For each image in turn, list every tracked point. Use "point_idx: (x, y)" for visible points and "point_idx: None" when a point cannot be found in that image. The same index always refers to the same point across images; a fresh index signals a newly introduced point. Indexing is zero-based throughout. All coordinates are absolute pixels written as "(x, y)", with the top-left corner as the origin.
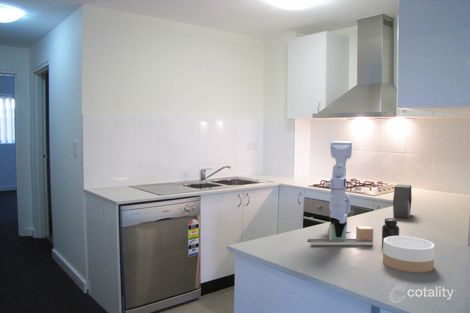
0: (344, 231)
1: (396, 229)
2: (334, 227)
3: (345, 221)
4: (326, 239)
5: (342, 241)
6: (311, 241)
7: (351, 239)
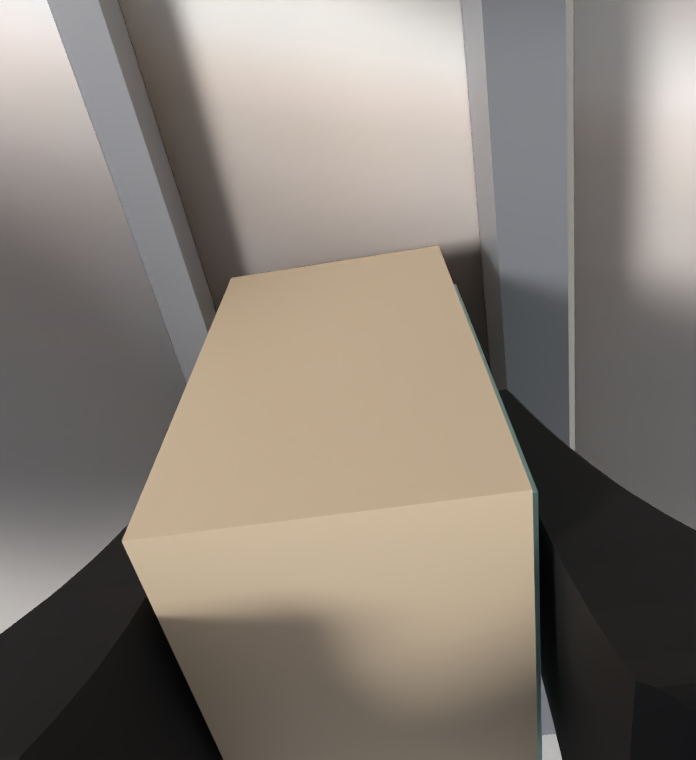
0: (498, 395)
1: None
2: (537, 720)
3: (690, 714)
4: None
5: (566, 332)
6: (550, 728)
7: (117, 43)
